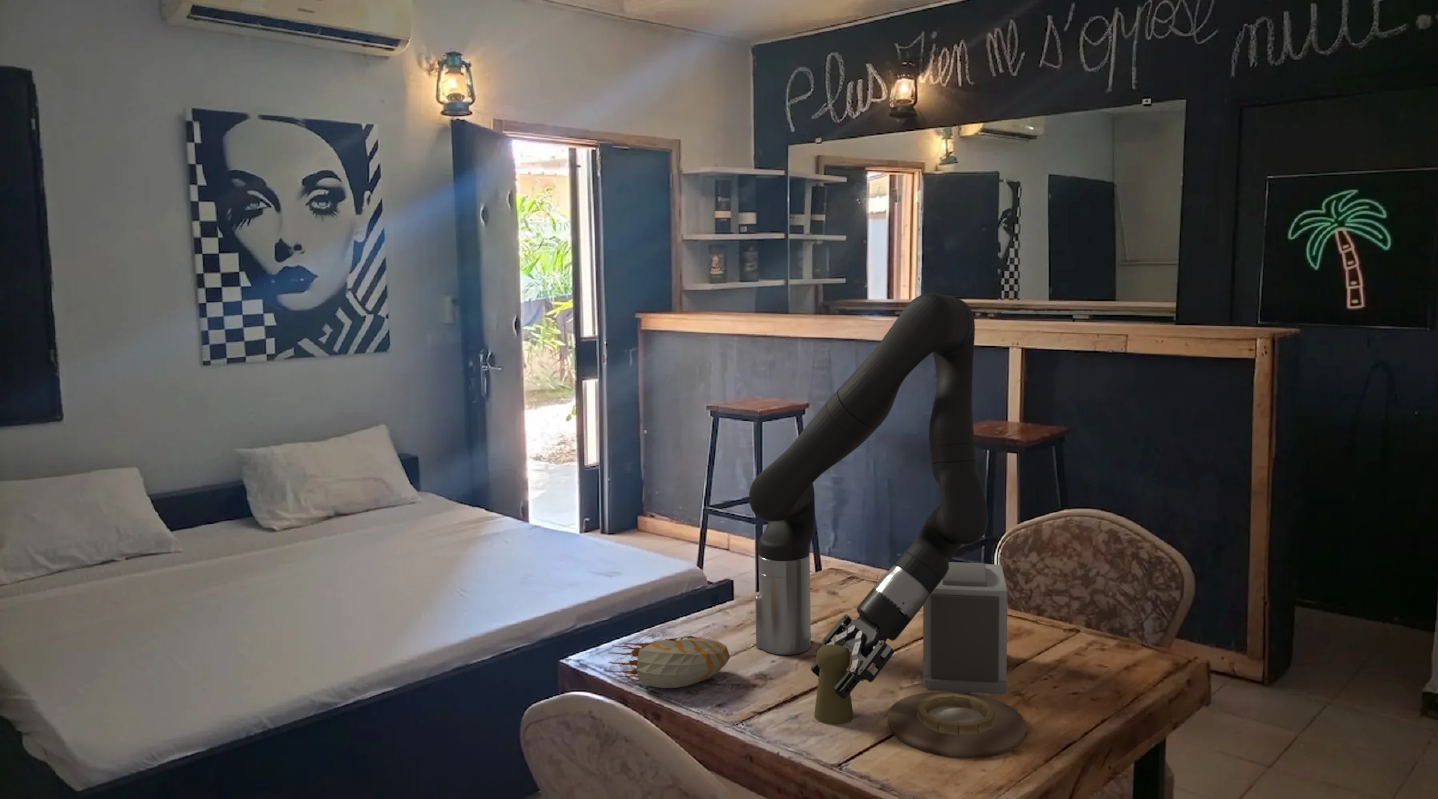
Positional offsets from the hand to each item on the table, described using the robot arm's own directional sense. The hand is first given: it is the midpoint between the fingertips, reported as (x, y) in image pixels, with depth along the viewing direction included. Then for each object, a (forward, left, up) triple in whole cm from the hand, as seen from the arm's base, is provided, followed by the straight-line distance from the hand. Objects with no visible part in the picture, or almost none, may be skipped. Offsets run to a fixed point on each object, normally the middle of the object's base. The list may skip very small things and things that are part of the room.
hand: (826, 684), depth 158 cm
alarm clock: (+16, +26, -6) cm, 31 cm away
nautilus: (-30, +4, -6) cm, 30 cm away
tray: (+19, +4, -5) cm, 20 cm away
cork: (+1, +1, -5) cm, 6 cm away
